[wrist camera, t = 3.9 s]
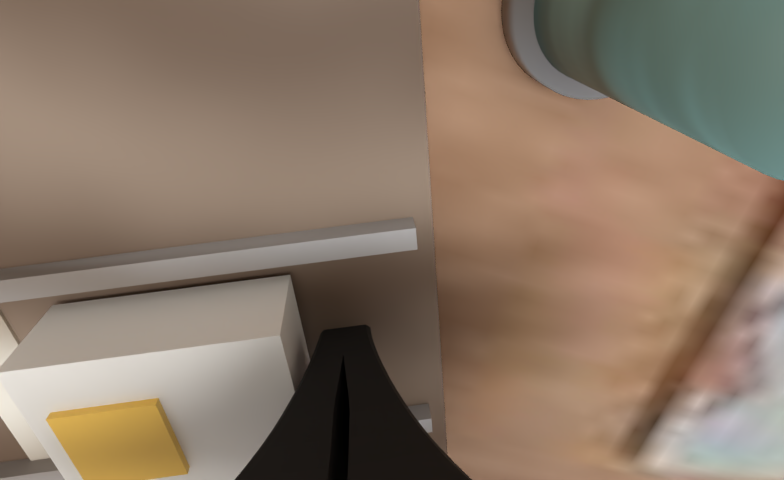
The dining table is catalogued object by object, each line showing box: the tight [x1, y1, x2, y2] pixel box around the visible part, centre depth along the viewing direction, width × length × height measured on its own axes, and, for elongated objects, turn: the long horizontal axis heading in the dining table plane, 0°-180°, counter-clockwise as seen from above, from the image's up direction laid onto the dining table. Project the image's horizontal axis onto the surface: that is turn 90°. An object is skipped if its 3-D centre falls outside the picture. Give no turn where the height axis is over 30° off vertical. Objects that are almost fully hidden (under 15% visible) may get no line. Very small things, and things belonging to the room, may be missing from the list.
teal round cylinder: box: [501, 0, 784, 180], centre depth 8 cm, size 4×4×7 cm
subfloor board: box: [0, 0, 447, 480], centre depth 13 cm, size 18×20×2 cm
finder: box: [0, 275, 310, 480], centre depth 13 cm, size 5×6×3 cm
